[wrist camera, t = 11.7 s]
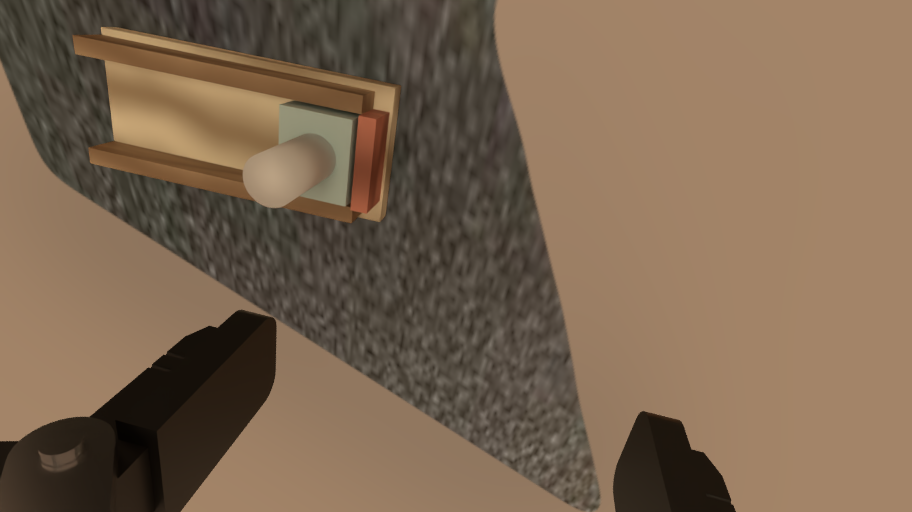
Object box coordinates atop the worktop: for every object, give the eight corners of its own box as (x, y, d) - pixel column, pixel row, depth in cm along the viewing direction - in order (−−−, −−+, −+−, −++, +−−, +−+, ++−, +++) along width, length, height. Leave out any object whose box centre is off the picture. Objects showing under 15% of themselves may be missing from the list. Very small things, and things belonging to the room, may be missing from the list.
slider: (299, 98, 36) (226, 119, 28) (367, 113, 36) (313, 138, 28) (296, 179, 39) (228, 219, 31) (360, 194, 38) (308, 238, 30)
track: (116, 27, 38) (65, 27, 34) (401, 85, 36) (382, 92, 32) (130, 157, 42) (86, 171, 38) (385, 215, 41) (367, 236, 37)
